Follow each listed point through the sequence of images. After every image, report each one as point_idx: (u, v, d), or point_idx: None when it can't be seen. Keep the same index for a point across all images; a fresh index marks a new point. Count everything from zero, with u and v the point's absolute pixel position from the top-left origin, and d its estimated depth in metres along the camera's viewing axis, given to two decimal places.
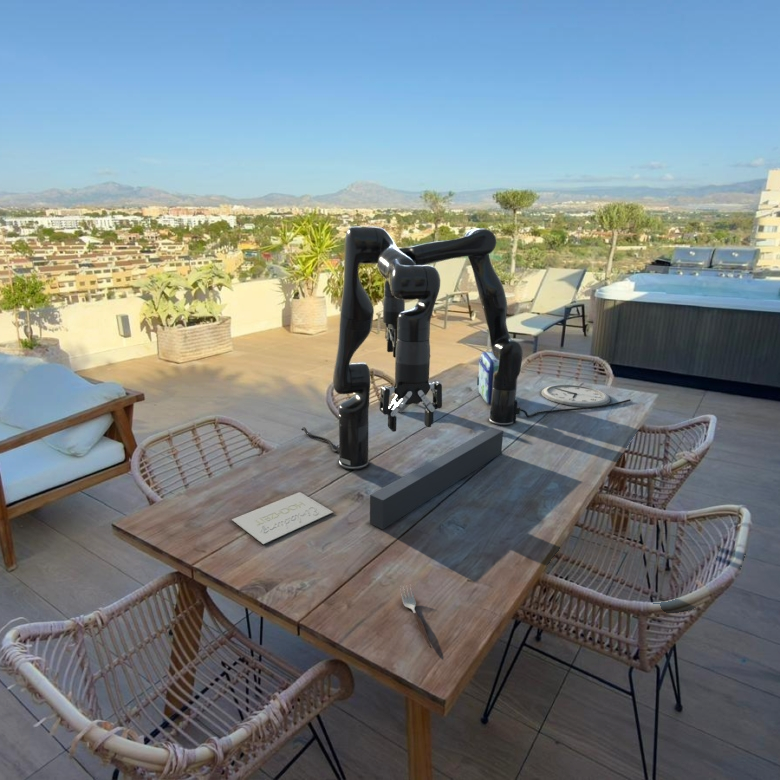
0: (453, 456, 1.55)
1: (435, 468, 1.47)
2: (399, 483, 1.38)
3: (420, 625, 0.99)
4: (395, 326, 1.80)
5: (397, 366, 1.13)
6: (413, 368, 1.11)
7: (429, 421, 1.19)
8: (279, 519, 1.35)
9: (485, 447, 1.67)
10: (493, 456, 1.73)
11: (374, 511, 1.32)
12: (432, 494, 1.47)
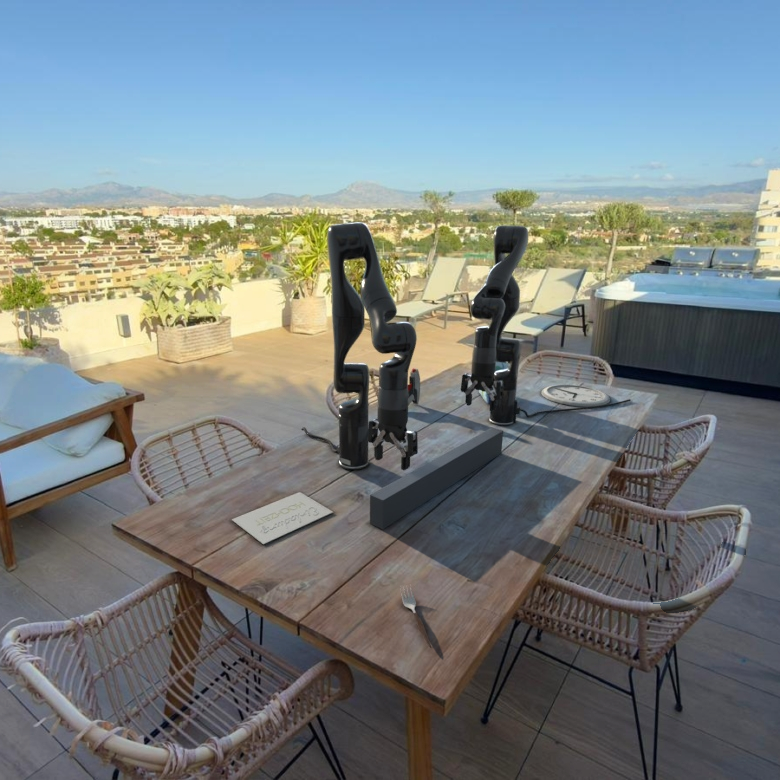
0: (453, 456, 1.55)
1: (435, 468, 1.47)
2: (399, 483, 1.38)
3: (420, 625, 0.99)
4: None
5: (405, 412, 1.26)
6: None
7: None
8: (279, 519, 1.35)
9: (485, 447, 1.67)
10: (493, 456, 1.73)
11: (374, 511, 1.32)
12: (432, 494, 1.47)
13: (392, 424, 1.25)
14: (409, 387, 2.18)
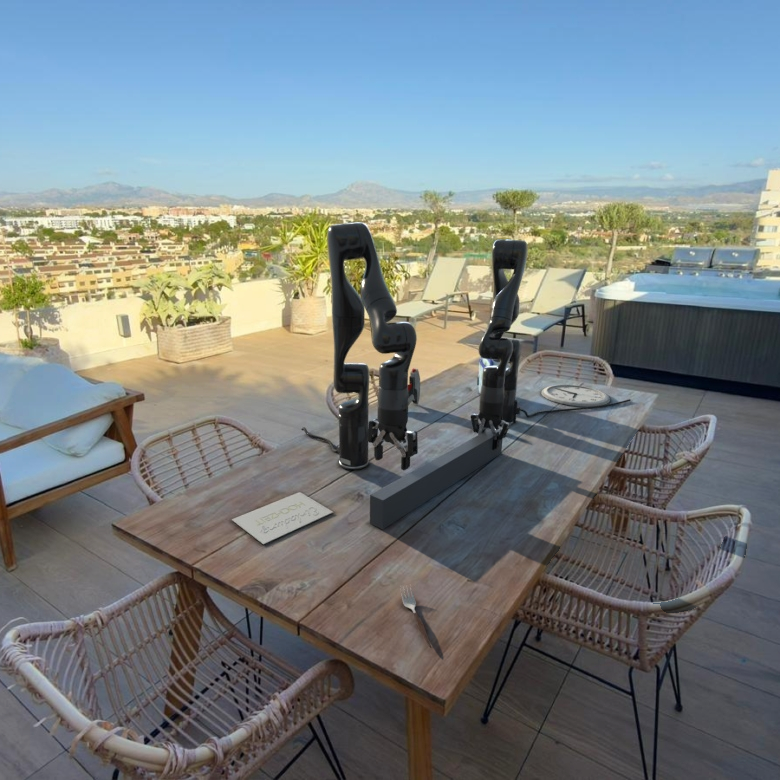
0: (453, 456, 1.55)
1: (435, 468, 1.47)
2: (399, 483, 1.38)
3: (420, 625, 0.99)
4: None
5: (405, 412, 1.26)
6: None
7: None
8: (279, 519, 1.35)
9: (485, 447, 1.67)
10: (493, 456, 1.73)
11: (374, 511, 1.32)
12: (432, 494, 1.47)
13: (392, 424, 1.25)
14: (409, 387, 2.18)
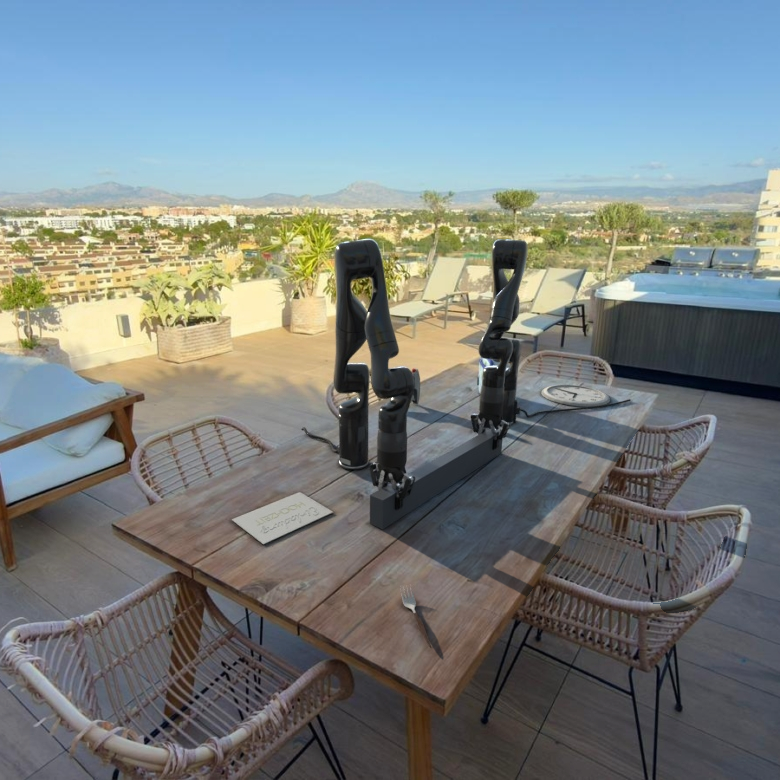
0: (453, 456, 1.55)
1: (435, 468, 1.47)
2: None
3: (420, 625, 0.99)
4: None
5: (404, 453, 1.30)
6: None
7: None
8: (279, 519, 1.35)
9: (485, 447, 1.67)
10: (493, 456, 1.73)
11: (374, 511, 1.32)
12: (432, 494, 1.47)
13: (391, 465, 1.29)
14: None
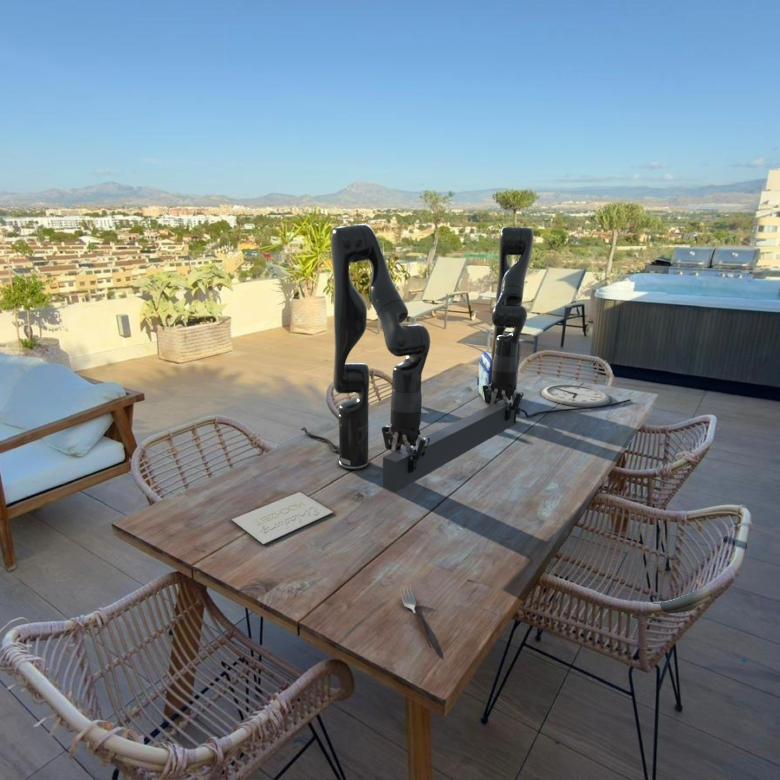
0: (466, 423, 1.52)
1: (448, 434, 1.44)
2: None
3: (420, 625, 0.99)
4: None
5: (418, 414, 1.27)
6: None
7: None
8: (279, 519, 1.35)
9: (497, 417, 1.64)
10: (505, 427, 1.70)
11: (387, 474, 1.29)
12: (444, 461, 1.44)
13: (406, 426, 1.26)
14: None
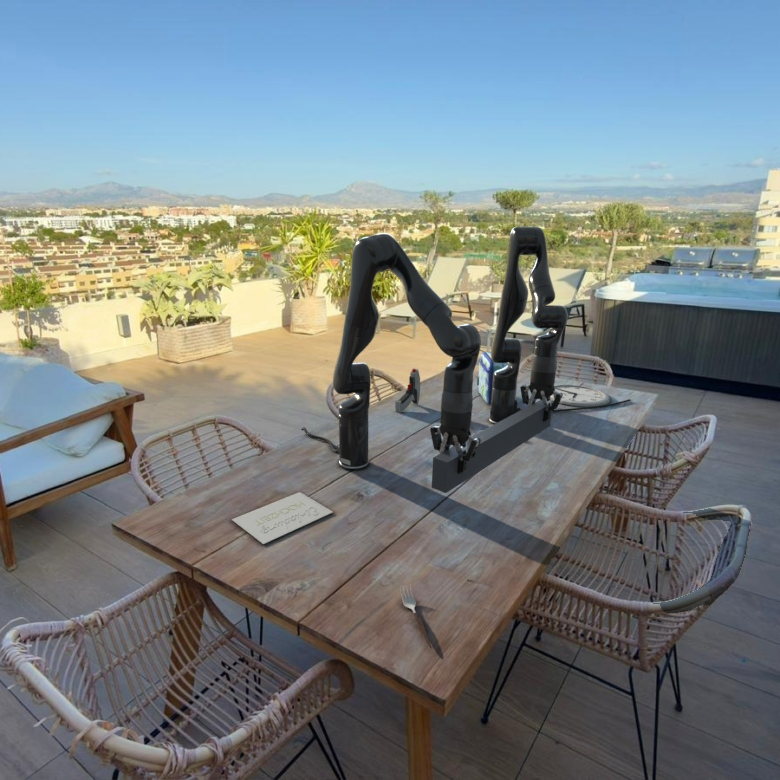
0: (509, 424, 1.52)
1: (493, 434, 1.44)
2: None
3: (420, 625, 0.99)
4: None
5: (470, 414, 1.26)
6: None
7: None
8: (279, 519, 1.35)
9: (537, 417, 1.64)
10: (543, 428, 1.70)
11: (437, 474, 1.29)
12: (489, 461, 1.44)
13: (457, 426, 1.25)
14: (409, 387, 2.18)
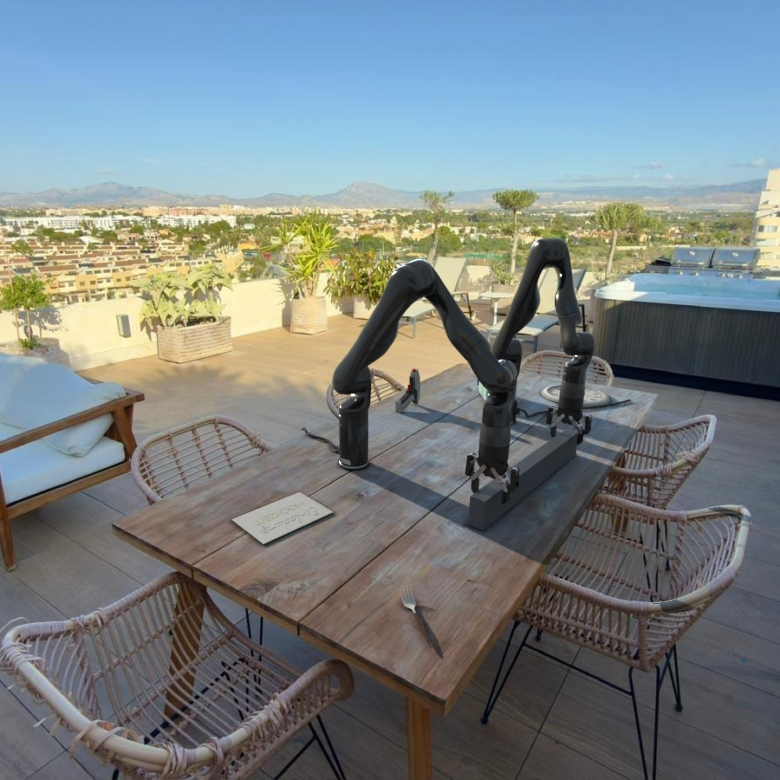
0: (538, 457, 1.55)
1: (525, 469, 1.47)
2: (494, 484, 1.38)
3: (420, 625, 0.99)
4: None
5: (508, 448, 1.29)
6: None
7: None
8: (279, 519, 1.35)
9: (564, 448, 1.67)
10: (569, 457, 1.73)
11: (474, 512, 1.32)
12: (521, 496, 1.47)
13: (496, 460, 1.28)
14: (409, 387, 2.18)
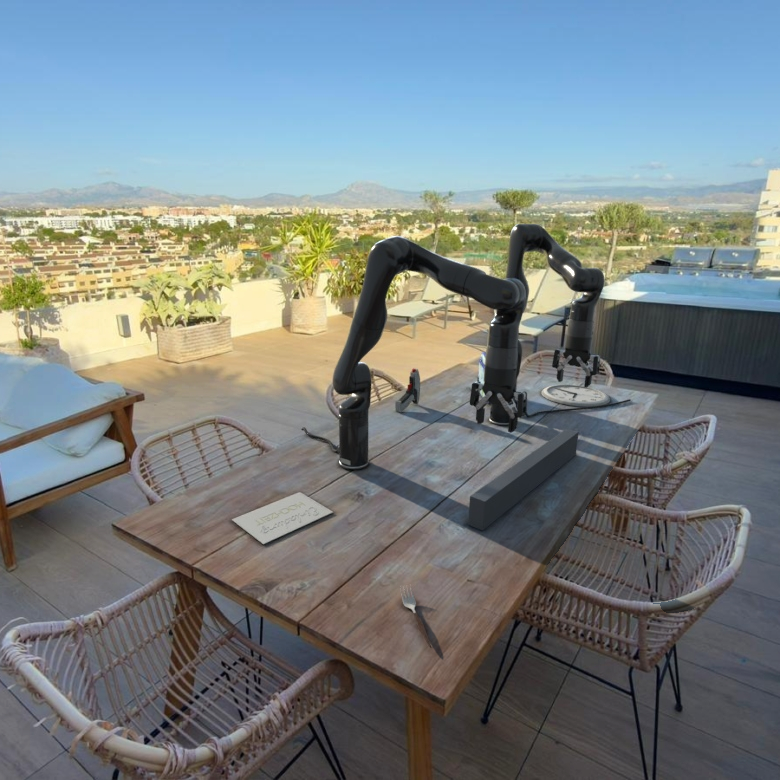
0: (538, 457, 1.55)
1: (525, 469, 1.47)
2: (494, 484, 1.38)
3: (420, 625, 0.99)
4: None
5: (515, 371, 1.23)
6: None
7: None
8: (279, 519, 1.35)
9: (564, 448, 1.67)
10: (569, 457, 1.73)
11: (474, 512, 1.32)
12: (521, 496, 1.47)
13: (502, 383, 1.22)
14: (409, 387, 2.18)
